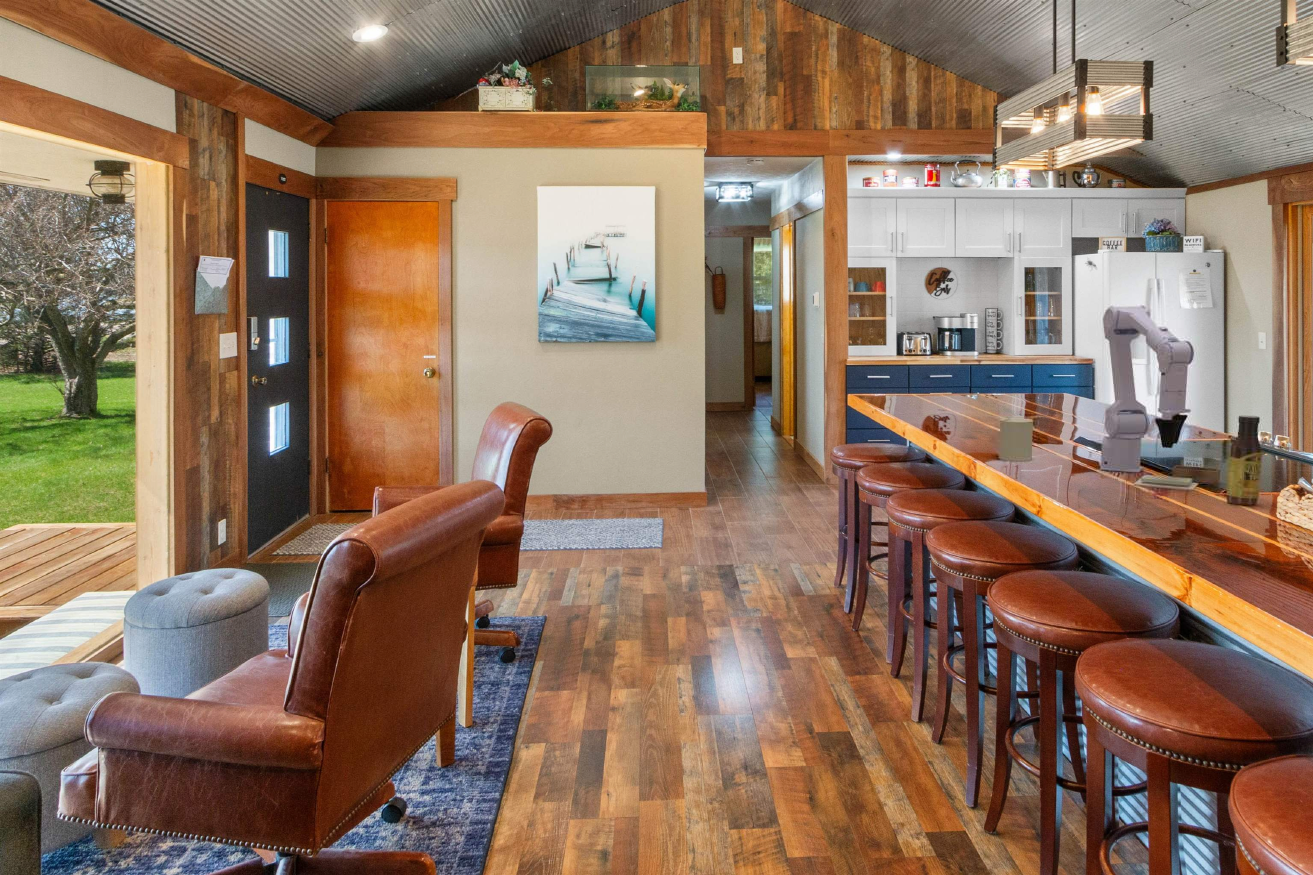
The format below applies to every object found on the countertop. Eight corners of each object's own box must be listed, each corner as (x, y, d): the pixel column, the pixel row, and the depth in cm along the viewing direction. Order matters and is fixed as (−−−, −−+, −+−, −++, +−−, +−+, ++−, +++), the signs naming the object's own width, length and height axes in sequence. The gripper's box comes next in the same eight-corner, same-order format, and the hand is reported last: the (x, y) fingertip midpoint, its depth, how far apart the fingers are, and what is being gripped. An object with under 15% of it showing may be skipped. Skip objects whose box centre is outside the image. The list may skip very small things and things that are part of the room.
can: (995, 456, 284) (996, 416, 283) (1027, 456, 284) (1028, 416, 282) (1003, 461, 275) (1004, 420, 274) (1036, 461, 274) (1037, 420, 273)
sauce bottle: (1245, 507, 211) (1251, 418, 209) (1219, 502, 217) (1224, 415, 214) (1265, 504, 214) (1271, 416, 211) (1238, 499, 220) (1244, 413, 217)
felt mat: (1133, 485, 238) (1133, 483, 238) (1140, 479, 245) (1140, 478, 245) (1193, 490, 230) (1193, 489, 230) (1198, 484, 237) (1198, 483, 237)
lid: (1140, 483, 238) (1140, 478, 238) (1144, 479, 243) (1145, 474, 242) (1188, 487, 232) (1189, 482, 232) (1192, 483, 236) (1192, 478, 236)
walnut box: (1171, 481, 241) (1172, 468, 241) (1174, 478, 245) (1175, 465, 245) (1216, 485, 235) (1217, 471, 235) (1219, 482, 239) (1220, 468, 239)
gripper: (1186, 394, 227) (1183, 450, 229) (1195, 388, 238) (1192, 442, 240) (1153, 393, 231) (1150, 448, 233) (1164, 387, 242) (1161, 440, 244)
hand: (1169, 445), depth 237 cm, fingers open, 7 cm apart
